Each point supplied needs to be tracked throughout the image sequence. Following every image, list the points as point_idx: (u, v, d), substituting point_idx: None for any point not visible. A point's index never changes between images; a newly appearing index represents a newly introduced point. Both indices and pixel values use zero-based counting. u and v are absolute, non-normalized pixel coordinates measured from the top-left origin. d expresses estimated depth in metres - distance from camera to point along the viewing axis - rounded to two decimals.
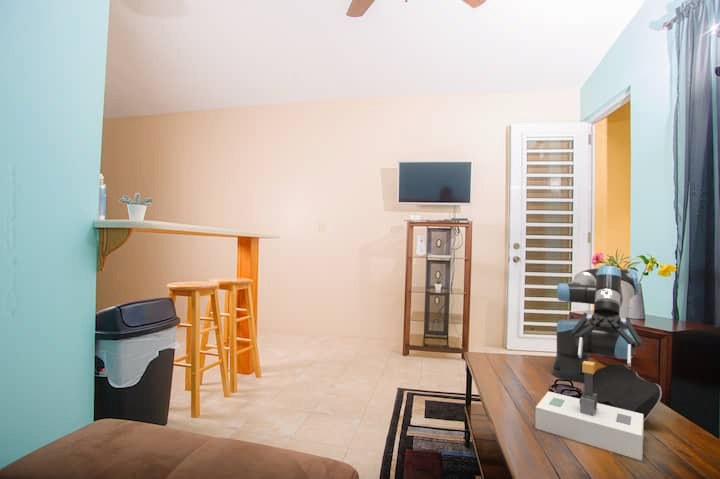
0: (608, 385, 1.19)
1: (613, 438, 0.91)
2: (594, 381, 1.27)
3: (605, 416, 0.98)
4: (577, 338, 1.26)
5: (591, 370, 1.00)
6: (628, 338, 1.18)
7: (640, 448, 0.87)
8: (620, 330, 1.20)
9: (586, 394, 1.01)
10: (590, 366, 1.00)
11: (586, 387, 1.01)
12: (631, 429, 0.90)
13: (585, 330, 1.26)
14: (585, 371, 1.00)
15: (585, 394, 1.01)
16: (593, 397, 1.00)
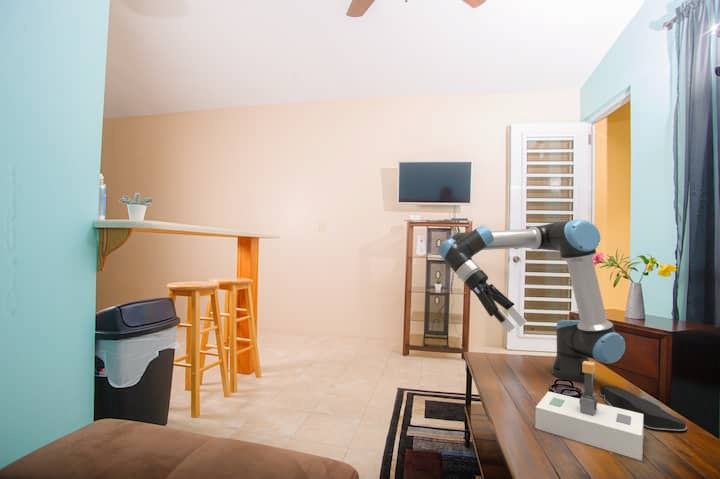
0: (627, 396, 1.19)
1: (613, 438, 0.91)
2: (609, 388, 1.26)
3: (605, 416, 0.98)
4: None
5: (591, 370, 1.00)
6: None
7: (640, 448, 0.87)
8: None
9: (586, 394, 1.01)
10: (590, 366, 1.00)
11: (586, 387, 1.01)
12: (631, 429, 0.90)
13: None
14: (585, 371, 1.00)
15: (585, 394, 1.01)
16: (593, 397, 1.00)
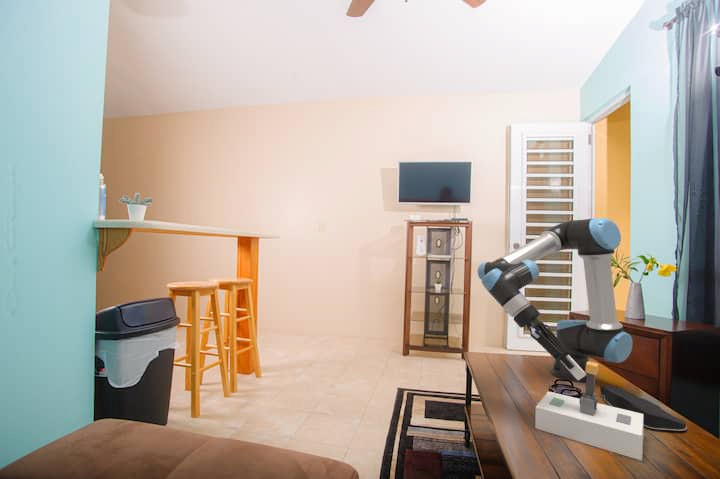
0: (627, 396, 1.19)
1: (613, 438, 0.91)
2: (609, 388, 1.26)
3: (605, 416, 0.98)
4: None
5: (594, 371, 0.99)
6: None
7: (640, 448, 0.87)
8: None
9: (587, 394, 1.00)
10: (594, 367, 0.99)
11: (587, 387, 1.00)
12: (631, 429, 0.90)
13: None
14: (588, 372, 1.00)
15: (586, 394, 1.01)
16: (594, 397, 1.00)
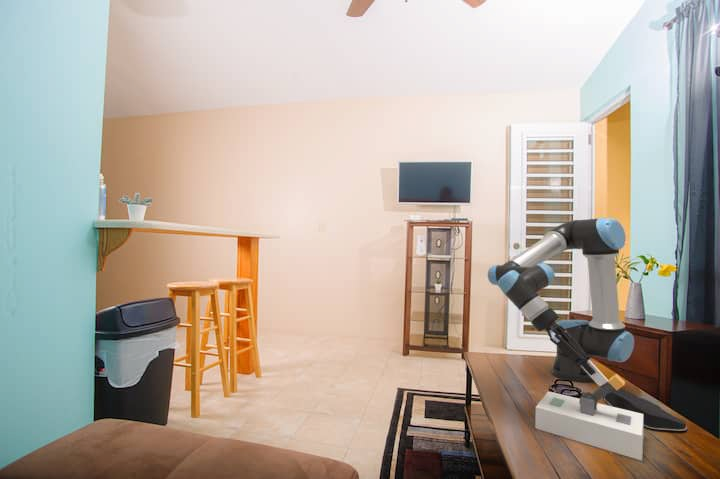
0: (627, 396, 1.19)
1: (613, 438, 0.91)
2: None
3: (605, 416, 0.98)
4: None
5: (618, 387, 0.96)
6: None
7: (640, 448, 0.87)
8: None
9: (593, 397, 1.00)
10: (620, 384, 0.95)
11: (598, 392, 0.99)
12: (631, 429, 0.90)
13: None
14: (611, 383, 0.97)
15: (592, 396, 1.00)
16: (596, 402, 1.00)
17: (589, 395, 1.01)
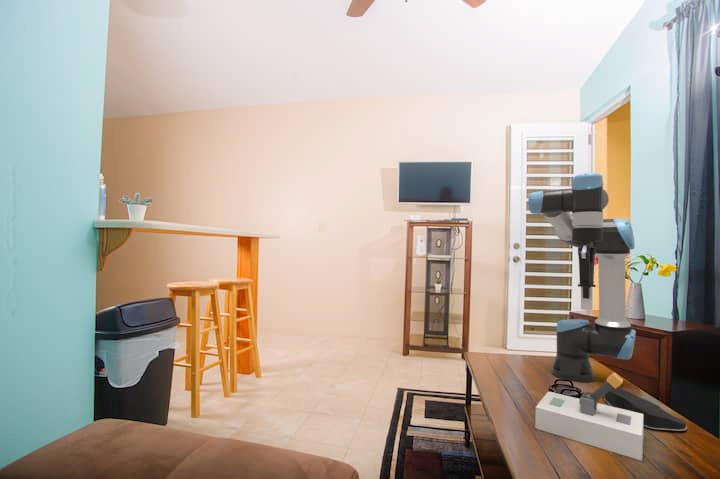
0: (627, 396, 1.19)
1: (613, 438, 0.91)
2: None
3: (605, 416, 0.98)
4: None
5: (616, 385, 0.96)
6: None
7: (640, 448, 0.87)
8: None
9: (592, 396, 1.00)
10: (618, 382, 0.96)
11: (597, 392, 0.99)
12: (631, 429, 0.90)
13: None
14: (609, 382, 0.97)
15: (591, 396, 1.00)
16: (596, 402, 1.00)
17: (589, 395, 1.01)
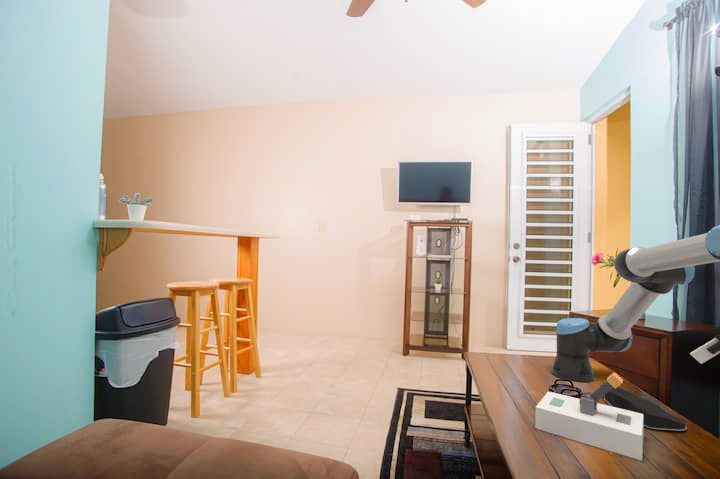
0: (627, 396, 1.19)
1: (613, 438, 0.91)
2: None
3: (605, 416, 0.98)
4: None
5: (616, 385, 0.96)
6: None
7: (640, 448, 0.87)
8: None
9: (592, 396, 1.00)
10: (618, 382, 0.96)
11: (597, 392, 0.99)
12: (631, 429, 0.90)
13: None
14: (609, 382, 0.97)
15: (591, 396, 1.00)
16: (596, 402, 1.00)
17: (589, 395, 1.01)
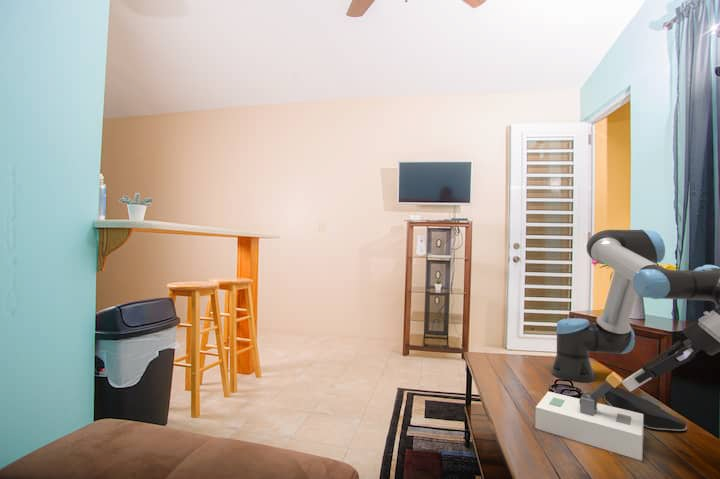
0: (627, 396, 1.19)
1: (613, 438, 0.91)
2: None
3: (605, 416, 0.98)
4: None
5: (615, 384, 0.96)
6: (651, 364, 0.92)
7: (640, 448, 0.87)
8: (663, 357, 0.90)
9: (592, 396, 1.00)
10: (618, 381, 0.96)
11: (597, 391, 0.99)
12: (631, 429, 0.90)
13: (656, 360, 0.93)
14: (609, 381, 0.97)
15: (591, 396, 1.00)
16: (596, 402, 1.00)
17: (588, 395, 1.01)
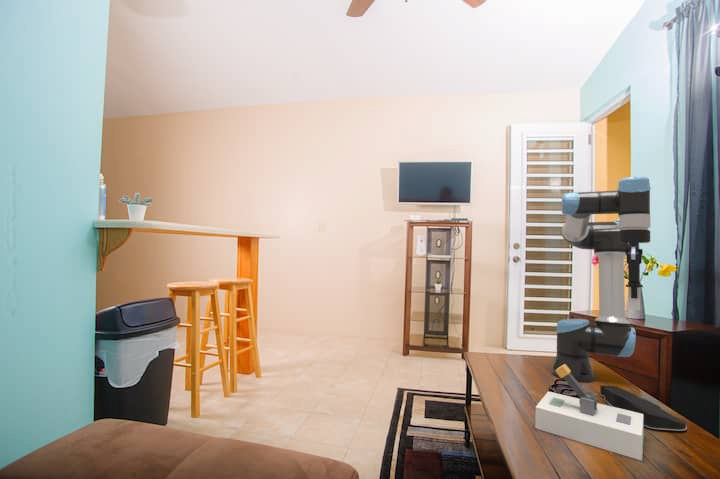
0: (627, 396, 1.19)
1: (613, 438, 0.91)
2: (609, 388, 1.26)
3: (605, 416, 0.98)
4: None
5: (565, 371, 1.04)
6: None
7: (640, 448, 0.87)
8: None
9: (580, 396, 1.01)
10: (561, 368, 1.04)
11: (575, 389, 1.02)
12: (631, 429, 0.90)
13: None
14: (562, 376, 1.04)
15: (580, 396, 1.01)
16: (587, 394, 1.01)
17: None
